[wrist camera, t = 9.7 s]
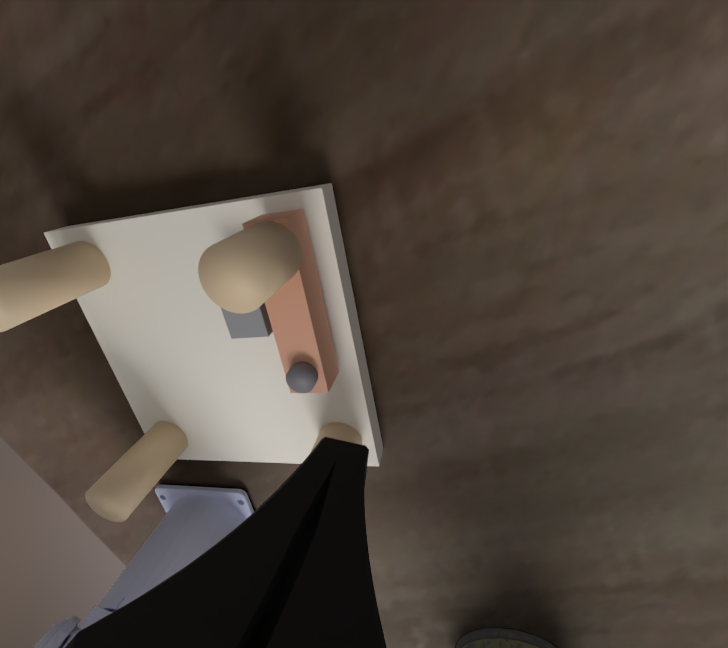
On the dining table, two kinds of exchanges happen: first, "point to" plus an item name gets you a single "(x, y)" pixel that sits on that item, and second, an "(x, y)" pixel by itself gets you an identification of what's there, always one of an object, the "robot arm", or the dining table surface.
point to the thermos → (501, 639)
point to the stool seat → (198, 340)
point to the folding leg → (276, 292)
